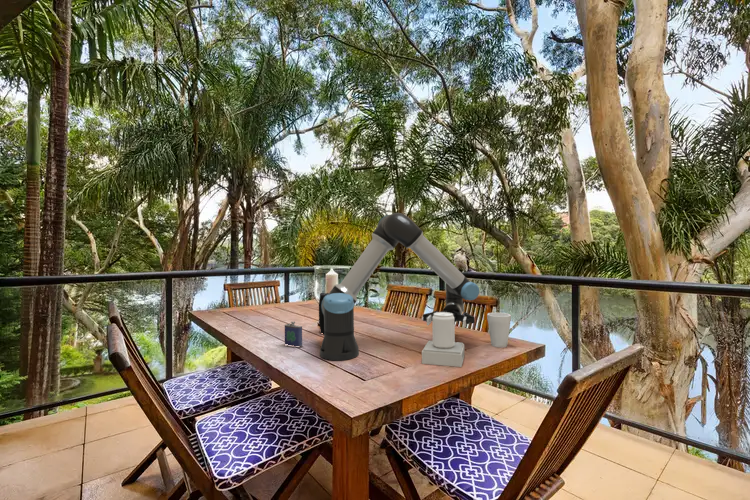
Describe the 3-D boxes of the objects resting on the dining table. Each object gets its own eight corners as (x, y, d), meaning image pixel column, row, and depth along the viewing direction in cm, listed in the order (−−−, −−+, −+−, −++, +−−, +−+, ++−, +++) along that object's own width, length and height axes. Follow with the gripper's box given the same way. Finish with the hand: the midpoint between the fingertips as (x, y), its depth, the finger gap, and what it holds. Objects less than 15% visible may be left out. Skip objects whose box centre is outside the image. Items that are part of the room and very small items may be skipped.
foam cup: (486, 347, 153) (486, 315, 153) (488, 341, 162) (488, 312, 162) (510, 349, 150) (510, 317, 149) (511, 343, 158) (511, 313, 158)
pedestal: (421, 363, 133) (421, 349, 133) (428, 352, 147) (428, 340, 147) (461, 367, 129) (461, 352, 129) (464, 355, 143) (464, 342, 142)
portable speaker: (334, 335, 175) (333, 294, 175) (316, 334, 178) (315, 294, 177) (340, 331, 184) (339, 292, 183) (323, 330, 186) (322, 291, 186)
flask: (303, 346, 157) (303, 321, 157) (299, 348, 155) (298, 323, 154) (287, 344, 162) (286, 319, 162) (282, 345, 159) (282, 321, 159)
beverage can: (454, 349, 133) (454, 316, 133) (432, 348, 135) (431, 315, 135) (454, 343, 141) (454, 312, 141) (433, 342, 143) (432, 311, 143)
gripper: (482, 322, 156) (480, 334, 135) (423, 319, 163) (413, 330, 143) (482, 304, 156) (479, 314, 135) (423, 302, 163) (413, 311, 143)
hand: (445, 322), depth 139 cm, fingers open, 13 cm apart
